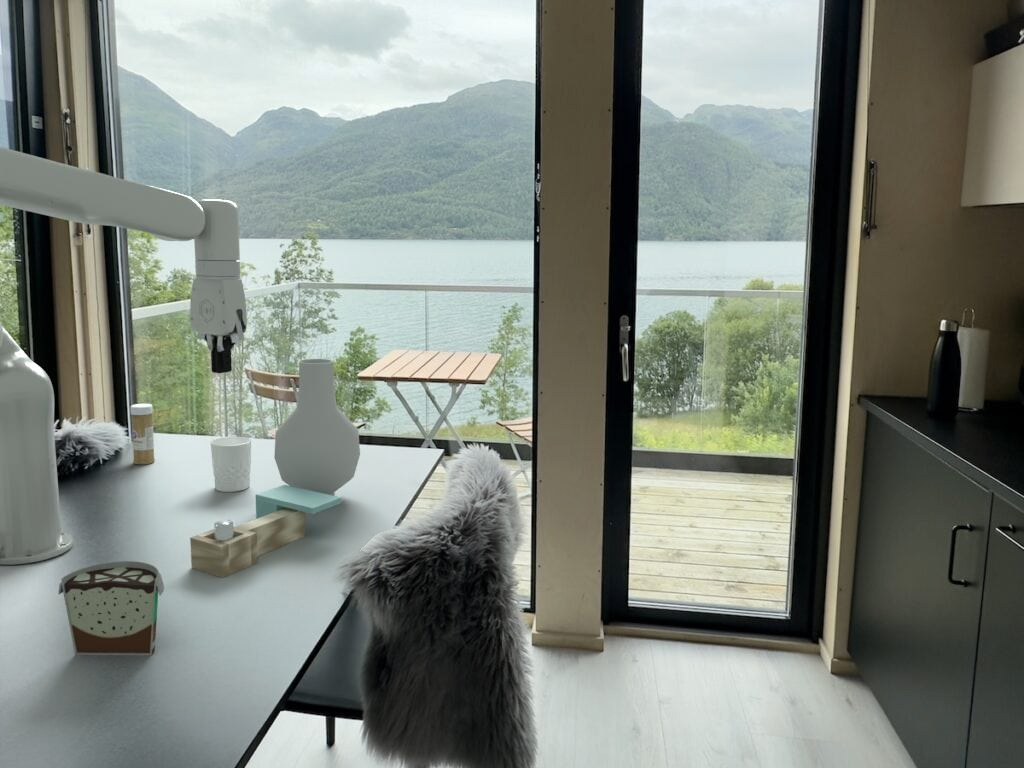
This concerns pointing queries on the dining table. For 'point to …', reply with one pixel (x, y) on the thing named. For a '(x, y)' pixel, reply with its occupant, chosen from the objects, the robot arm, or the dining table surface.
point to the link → (246, 542)
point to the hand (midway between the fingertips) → (221, 371)
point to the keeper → (293, 500)
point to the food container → (113, 608)
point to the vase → (317, 435)
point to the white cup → (231, 463)
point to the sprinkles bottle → (142, 433)
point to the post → (224, 530)
